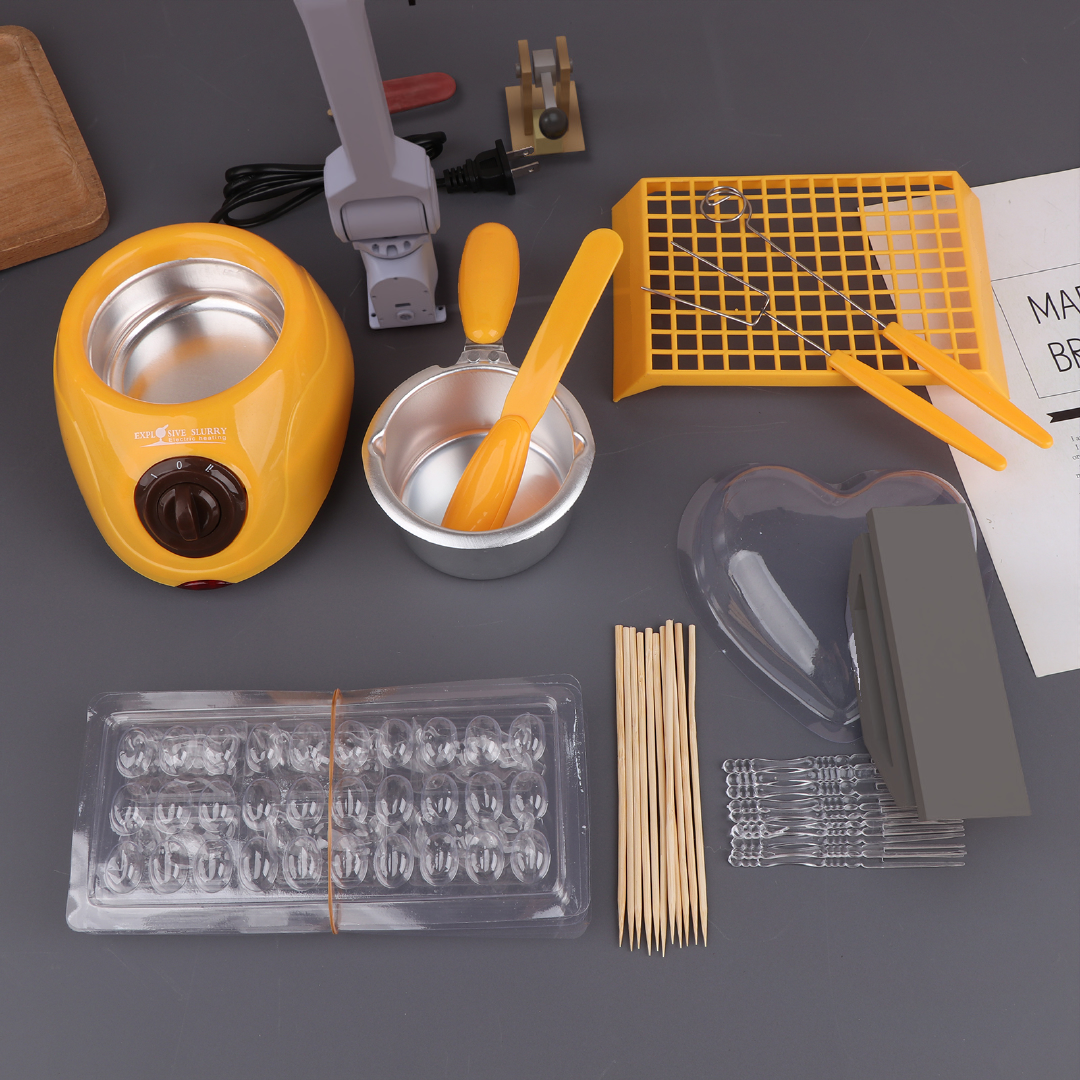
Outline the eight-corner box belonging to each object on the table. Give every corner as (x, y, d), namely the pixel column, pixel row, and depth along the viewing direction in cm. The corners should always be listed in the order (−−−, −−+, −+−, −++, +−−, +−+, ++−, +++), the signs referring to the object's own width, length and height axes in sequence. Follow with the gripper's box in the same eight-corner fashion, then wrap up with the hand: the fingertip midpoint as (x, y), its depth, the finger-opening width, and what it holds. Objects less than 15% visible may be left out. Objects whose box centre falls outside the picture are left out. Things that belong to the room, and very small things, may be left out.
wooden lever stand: (584, 158, 100) (588, 88, 90) (514, 164, 100) (510, 95, 90) (574, 88, 103) (576, 14, 94) (505, 95, 103) (501, 21, 94)
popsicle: (322, 92, 101) (450, 65, 102) (325, 104, 103) (452, 78, 104) (329, 122, 100) (459, 95, 101) (332, 134, 101) (461, 107, 102)
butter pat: (562, 152, 99) (563, 136, 96) (536, 154, 98) (535, 138, 96) (558, 123, 100) (559, 107, 98) (532, 126, 100) (531, 109, 98)
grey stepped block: (833, 548, 85) (871, 507, 74) (915, 544, 85) (965, 503, 74) (876, 823, 77) (927, 820, 66) (967, 818, 77) (1031, 815, 66)
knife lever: (570, 144, 90) (570, 118, 87) (540, 147, 90) (539, 121, 87) (556, 72, 96) (556, 45, 93) (529, 74, 96) (528, 47, 93)
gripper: (423, -168, 83) (441, -33, 96) (268, -155, 82) (306, -20, 95) (429, -115, 80) (446, 17, 93) (268, -100, 80) (307, 30, 93)
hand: (375, 2), depth 94 cm, fingers open, 7 cm apart
